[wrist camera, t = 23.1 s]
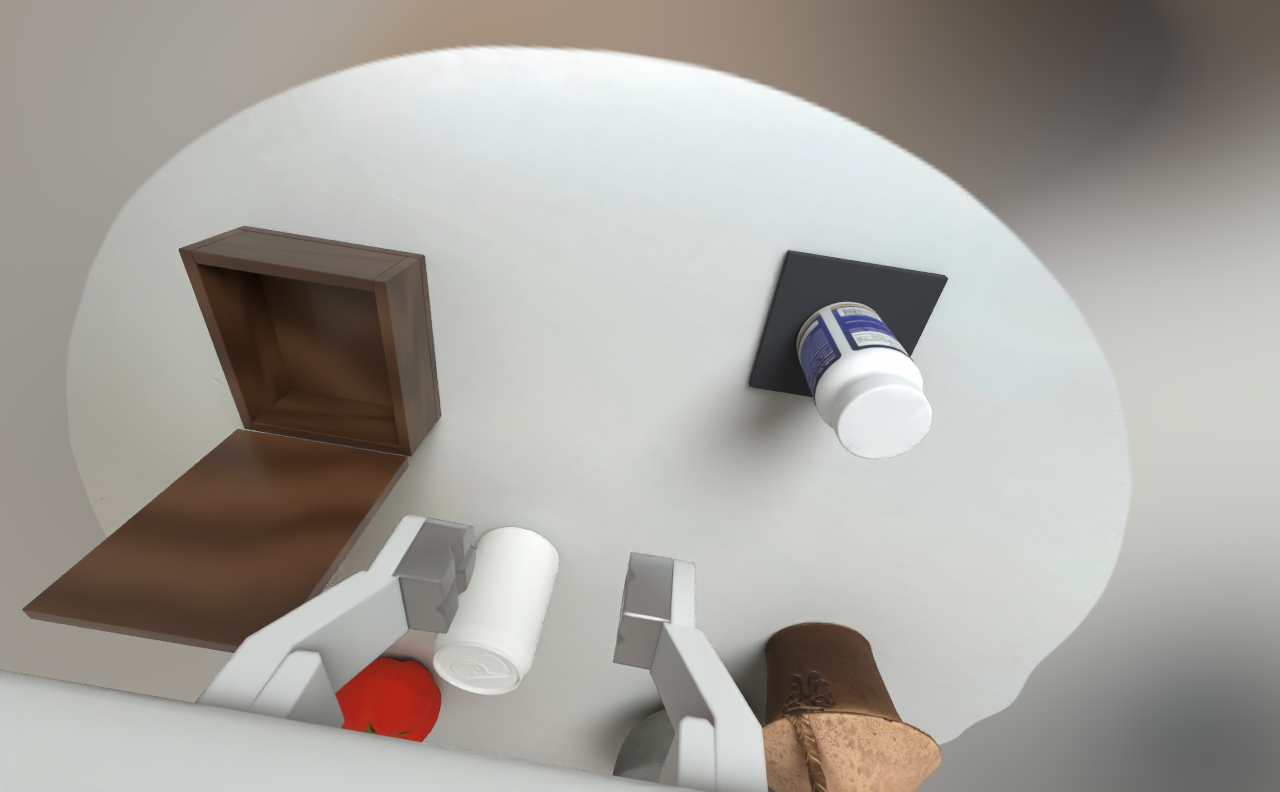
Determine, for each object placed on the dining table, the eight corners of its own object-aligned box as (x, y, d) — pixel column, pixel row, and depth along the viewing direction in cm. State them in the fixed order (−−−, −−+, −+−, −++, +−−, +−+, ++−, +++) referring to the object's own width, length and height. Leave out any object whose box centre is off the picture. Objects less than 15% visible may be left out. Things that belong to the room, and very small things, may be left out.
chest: (243, 225, 35) (177, 248, 30) (425, 254, 35) (385, 282, 30) (291, 391, 42) (244, 429, 38) (441, 415, 42) (411, 456, 38)
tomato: (348, 634, 62) (302, 708, 55) (449, 652, 62) (417, 728, 55) (363, 688, 69) (325, 760, 62) (455, 704, 69) (426, 778, 62)
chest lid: (21, 609, 25) (72, 660, 28) (269, 651, 25) (295, 698, 28) (237, 428, 37) (257, 477, 40) (407, 456, 37) (416, 503, 40)
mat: (788, 249, 32) (789, 252, 32) (945, 274, 32) (948, 278, 32) (748, 382, 38) (749, 387, 37) (883, 404, 38) (885, 409, 37)
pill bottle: (819, 388, 37) (855, 483, 28) (779, 329, 35) (805, 412, 26) (898, 348, 35) (962, 437, 26) (860, 281, 32) (917, 357, 24)
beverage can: (574, 570, 51) (544, 693, 41) (504, 583, 54) (460, 702, 44) (538, 514, 48) (495, 635, 37) (465, 530, 50) (406, 648, 40)
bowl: (732, 656, 57) (738, 758, 48) (809, 739, 65) (825, 839, 57) (588, 694, 64) (572, 788, 56) (674, 764, 72) (671, 856, 64)
